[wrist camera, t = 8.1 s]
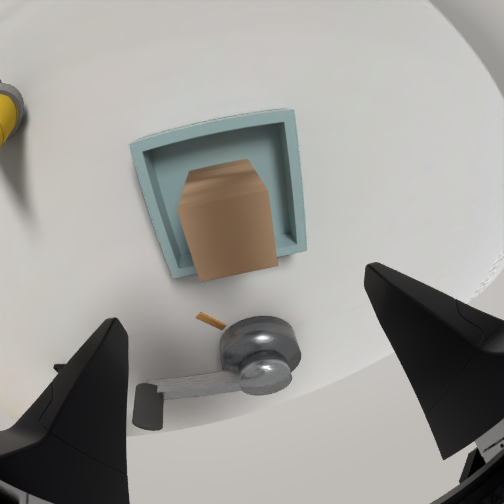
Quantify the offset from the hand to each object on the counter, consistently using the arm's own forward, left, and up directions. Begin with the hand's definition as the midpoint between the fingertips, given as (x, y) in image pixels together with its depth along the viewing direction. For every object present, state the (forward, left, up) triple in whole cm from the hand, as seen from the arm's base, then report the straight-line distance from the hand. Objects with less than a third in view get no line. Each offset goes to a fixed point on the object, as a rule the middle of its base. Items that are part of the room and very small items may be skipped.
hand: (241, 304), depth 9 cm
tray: (0, 0, -12) cm, 12 cm away
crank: (-5, -17, -9) cm, 20 cm away
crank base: (0, -16, -12) cm, 20 cm away
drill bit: (-15, +11, -12) cm, 22 cm away
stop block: (0, 0, -11) cm, 11 cm away
